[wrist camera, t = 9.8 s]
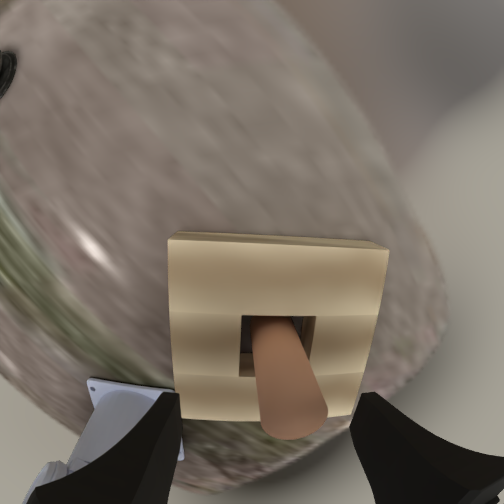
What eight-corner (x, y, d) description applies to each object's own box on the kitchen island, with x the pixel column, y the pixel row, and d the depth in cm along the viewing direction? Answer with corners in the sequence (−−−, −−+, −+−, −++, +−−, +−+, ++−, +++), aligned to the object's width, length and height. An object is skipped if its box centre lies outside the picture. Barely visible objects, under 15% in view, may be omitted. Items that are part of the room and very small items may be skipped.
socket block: (339, 392, 23) (350, 414, 20) (183, 393, 22) (178, 417, 19) (369, 240, 20) (389, 250, 17) (177, 231, 19) (167, 239, 16)
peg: (290, 343, 21) (322, 436, 12) (249, 344, 21) (259, 441, 12) (293, 306, 21) (333, 390, 11) (250, 306, 20) (262, 395, 11)
